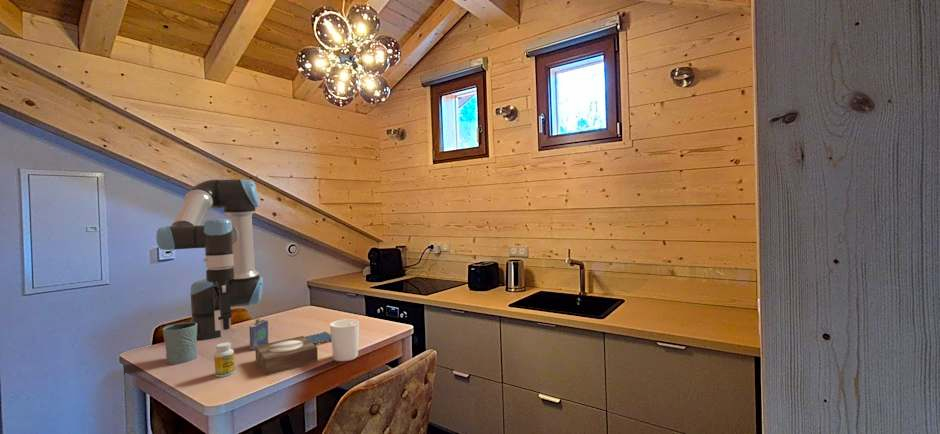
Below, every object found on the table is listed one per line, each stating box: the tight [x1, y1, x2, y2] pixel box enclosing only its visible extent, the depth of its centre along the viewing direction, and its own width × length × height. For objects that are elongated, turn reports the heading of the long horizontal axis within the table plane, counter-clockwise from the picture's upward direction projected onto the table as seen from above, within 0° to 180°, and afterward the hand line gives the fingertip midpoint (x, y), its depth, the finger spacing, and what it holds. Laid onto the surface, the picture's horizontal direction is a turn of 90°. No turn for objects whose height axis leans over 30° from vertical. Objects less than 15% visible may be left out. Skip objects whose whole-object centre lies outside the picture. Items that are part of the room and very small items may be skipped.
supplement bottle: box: [213, 341, 236, 378], centre depth 132 cm, size 5×5×10 cm
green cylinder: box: [161, 321, 198, 365], centre depth 145 cm, size 10×10×12 cm
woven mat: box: [304, 331, 332, 347], centre depth 162 cm, size 10×11×2 cm
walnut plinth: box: [254, 335, 319, 376], centre depth 141 cm, size 16×16×5 cm
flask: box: [248, 318, 269, 351], centre depth 157 cm, size 9×3×11 cm, turn 172°
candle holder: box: [329, 318, 360, 362], centre depth 144 cm, size 10×10×12 cm
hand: (223, 334), depth 131 cm, fingers open, 13 cm apart
